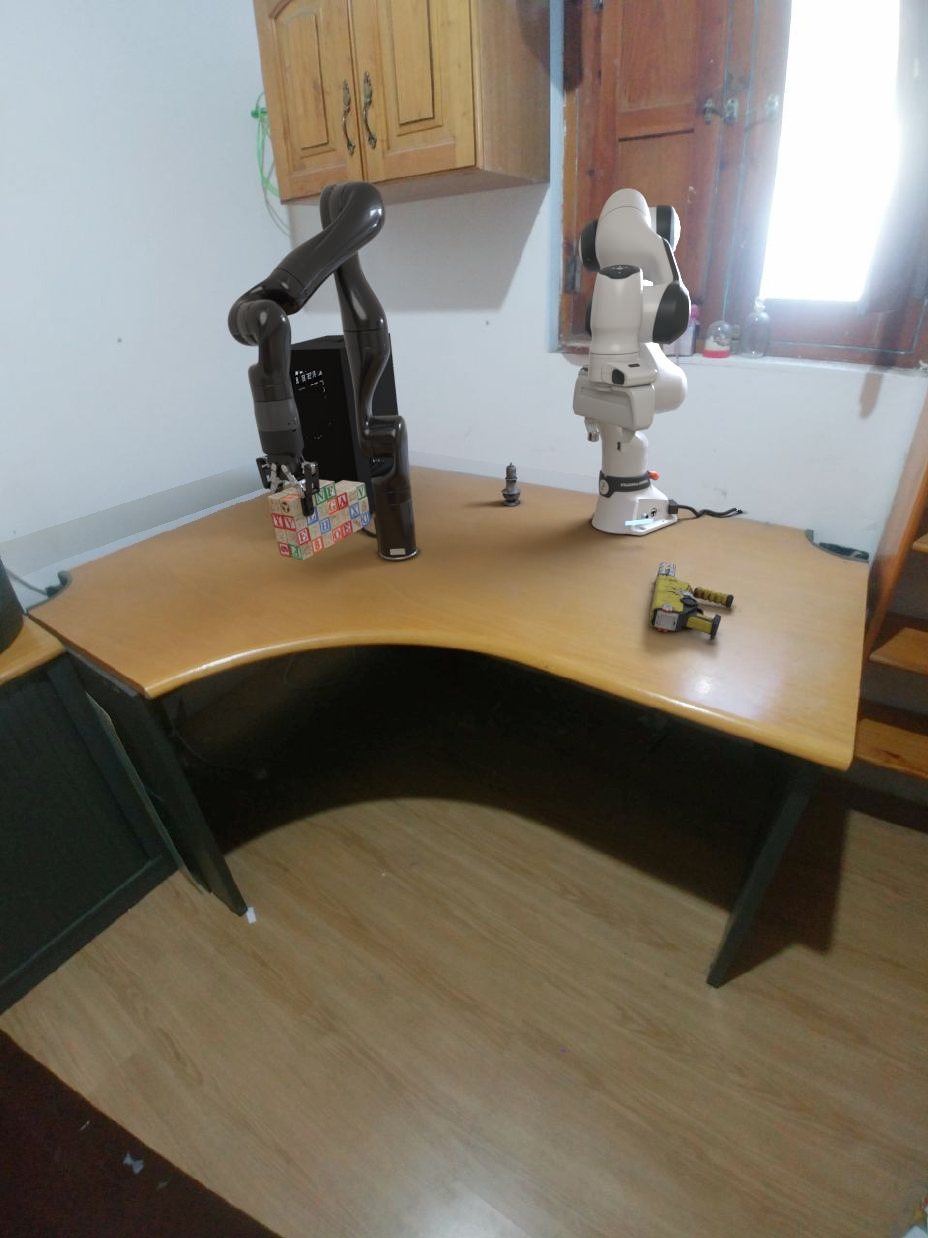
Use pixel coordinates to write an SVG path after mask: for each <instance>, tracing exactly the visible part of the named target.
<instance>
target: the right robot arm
mask: <svg viewBox="0 0 928 1238" xmlns="http://www.w3.org/2000/svg"><path fill="white" fill-rule="evenodd" d="M680 234H681V225H680V220H679V216H678V214H677V213H676V209H675V208H674V207H673V206H672V205H670V204H657V205H656V206H650V207H649V206H648V204H647V201H646V198H645V197H644V195H643V194H642V192H640V191H638V190H637V189H634V188H627V187H626V188H621V189H619V190H617V191H615V192H614V193H612V194H611V195H610V196H609V197H608V199H607V200H606V201H605V203H604V205H603V208H602V210H601V212H600V214H599V218H594V219H592V220H591V221H590V222H588V223H587V224H585V225H584V227H583V228H582V230H581V232H580V237H579V240H578V255H579V258H580V261H581V263H582V266H583V268H584V269H585V270H586V271H587V272H588V273H589V272H590V273H596V277H595V281H594V286H593V287H594V288H593V294H592V295H591V296H590V297H589V299H588V300H587V301H586V302H585V321H584V333H585V334H586V335H587V336H588V337H589V338H590V339H591V341H590V346H589V349H588V363H587V364H584V365H582V367H581V368H580V369H579V370H578V374H577V378H576V380H575V383H574V389H573V398H572V411H573V413H574V415H577V416H580V417H584V421H583V423H584V425H585V429H586V432H587V441H588V442H592V443H596V442H599V441H600V443H601V468H600V470H599V474H598V492H599V493H598V498H597V502H596V507H595V511H594V514H593V517H592V520H591V525H592V526H593V527H594V528H595V529H597V530H599V531H601V532H605V533H611V534H623V535H625V534H626V535H632V536H633V535H634V536H645V535H646V534H650V533H652V532H654V531H657V530H660V529H662V528H665V527H668V526H670V525H672V524H675V523H677V522H678V516H677V515H678V514H679V509H681V510H688V511H690V512H691V513H692V514H693V515H694V516H696V517H702V515H703V514H710V515H712V516H715V517H723V516H728V515H730V514H731V513H734V512H736V513H738V514H744V512H743V510H742V509H740V510H738V511H736V510H737V509H736V508H737V507H732V508H729V509H727V510H725V511H719V512H718V511H714V510H711V509H708V508H707V509H706V508H704V509H700V510H699V511H697V509H696V508H694V507H692V506H689V505H687V504H686V505H685V504H679V503H678V502H677V501H676V500H674V499H671V498H668V497H667V496H666V495H665V494H664V493H663V492H661V491H660V490H659V489H658V488H656V487H655V486H654V485H652V483H651V480H653V481H658V479H659V478H660V473H659V472H657V471H654V470H651V471H649V470H648V469H647V466H648V458H649V457H648V456H649V446H650V443H649V440H648V437H646V435H645V434H644V433H643V432H641V431H644V430H645V431H646V430H649V428H650V427H651V426H652V424H653V421H654V417H655V415H660V414H663V413H665V414H666V413H669V412H673V411H676V410H678V409H679V408H680V407H681V406H682V404H683V402H684V400H685V399H686V396H687V393H688V387H689V386H688V380H687V376H686V374H685V372H684V370H682V369H681V367H679V366H678V365H676V364H675V363H673V362H672V361H671V360H670V359H669V358H667V356H666V355H665V353H664V352H663V351H662V349H661V347H660V345H669V346H670V345H671V344H673V343H674V342H676V341H677V340H679V339H680V338H681V337H682V336H683V335H684V334H685V333H686V331H687V329H688V326H689V324H690V319H691V313H692V305H691V299H690V294H689V290H688V289H687V288H686V286H685V285H684V283H683V281H682V278H681V273H680V270H679V268H678V265H677V262H676V258H675V256H674V252H675V251H676V246H677V245H678V241H679V239H680Z"/></svg>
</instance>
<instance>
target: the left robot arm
mask: <svg viewBox="0 0 928 1238" xmlns="http://www.w3.org/2000/svg"><path fill="white" fill-rule="evenodd" d="M318 203H319V204H318V205H319V208H318V210H319V218H320V225H321V229H322V230H321V231H320V232H318V233H316V234H315V235H314V236H313V235H312V236H311V237H310V238H309V239H307V240H305V241H304V242H301V243H300V244H299V245H298V246H296V247H294V248H293V249H292V250H291V251H289V253H287V254H286V255H285V256H284V257H283V258H282V259H281V261H280V262H279V263H278V264H277V265H276V266H275V268H273V270H272V271H271V272H270V273H269V275H268V276H267V277H266V278H264V279H263V280H261V281H260V282H259V283H257V284H255V285H254V286H253V287H251V288H250V289H249V290H247V291H246V292H244V293H243V294H242V295H240V296H239V297H238V298H237V299H236V300H235V301H234V302H233V303H232V305H231V306H230V309H229V311H228V314H227V319H226V321H227V328H228V331H229V333H230V335H231V337H232V339H234V340H235V341H236V342H237V343H239V344H240V345H243V346H246V347H257V349H258V356H257V361H256V362H254V363H252V364H251V365H249V367H248V368H247V378H248V383H249V388H250V393H251V398H252V403H253V412H254V413H253V414H254V419H255V423H256V428H257V432H258V437H259V442H260V447H261V451H262V453H263V454H265V455H263V456H260V457H257V458H255V463H256V467H257V469H258V473H259V476H260V479H261V483H262V486H263V489H265V490H267V489H268V490H270V492H271V494H272V495H273V494H276V493H279V492H281V491H284V490H285V486H286V482H289V483H290V485H291V487H292V486H293V487H294V488H296V489H297V491H298V493H299V495H300V497H301V498H300V501H301V506H302V512H303V516H305V517H309V516H311V515H313V514H314V504H313V499H312V496H313V495H314V494H317V493H319V492H320V484H319V473H318V464H317V462H311V463H309V462H306V461H305V460H304V458H303V456H302V450H303V448H304V443H303V437H302V432H301V426H300V421H299V415H298V410H297V406H296V403H295V400H294V397H293V396H294V395H293V390H292V384H291V379H290V375H289V367H290V355H291V344H292V326H291V322H290V318H289V317H288V316H292V315H295V314H297V313H299V312H300V311H301V310H302V309H303V308H304V307H305V306H306V305H307V304H308V302H309V301H310V300H311V299H312V297H313V296H314V295H315V294H316V293H317V291H318V290H319V289H320V287H321V286H322V285H323V284H324V283H325V282H326V281H327V280H328V279H329V278H330V277H331V276H332V275H333V279H334V285H335V290H336V291H335V292H336V296H337V300H338V307H339V312H340V321H341V328H342V335H344V342H345V348H346V353H347V358H348V363H349V369H350V375H351V381H352V387H353V395H354V405H355V416H356V427H357V436H358V443H359V447H360V451H361V453H362V455H363V456H364V457H366V458H393V464H392V465H390V466H389V467H387V468H385V469H383V470H380V471H378V472H376V473H374V474H373V475H372V476H371V488H372V495H373V503H374V510H375V511H374V516H373V521H374V529H375V533H373V532H372V531H370V530H368V529H367V528H365V527H363V528H361V529H360V530H361V531H362V532H363V533H365V534H367V535H368V536H370V537H373V538H375V539H376V544H377V545H376V546H377V551H378V553H379V557H380V558H381V559H383V560H386V561H392V562H394V561H395V562H396V561H397V562H398V561H399V562H400V561H407V560H409V559H411V558H414V557H415V556H416V555H417V554H418V552H419V551H418V545H417V535H416V524H415V523H416V522H415V513H414V512H415V511H414V503H413V493H412V483H411V472H410V459H409V436H408V428H407V423H406V420H405V418H404V416H402V415H399V414H398V415H379V416H373V415H372V397H373V394H374V391H375V388H376V385H377V383H378V380H379V378H380V376H381V374H382V372H383V370H384V368H385V365H386V363H387V361H388V358H389V354H390V342H389V333H390V332H389V326H388V325H389V324H388V320H387V319H388V318H387V315H386V313H385V312H386V311H385V310H384V308H383V306H382V304H381V302H380V300H379V298H378V297H377V295H376V293H375V292H374V289H373V288H372V287H371V285H370V282H369V281H368V279H367V277H366V275H365V274H364V271H363V268H362V264H361V260H360V256H359V251H360V250H361V249H363V248H364V247H365V246H367V245H368V244H370V243H371V242H372V241H374V240H375V239H376V238H377V237H378V236H379V235H380V233H381V232H382V230H383V229H384V226H385V222H386V214H387V212H386V204H385V199H384V196H383V195H382V192H381V190H379V188H378V187H377V186H376V185H375V184H373V183H372V182H369V181H366V180H349V181H341V182H332V183H329V184H326V185H325V186H324V187H323V188H322V190H321V192H320V195H319V202H318ZM300 477H301V478H302V480H301V481H297V480H298V479H299V478H300ZM268 478H269V479H268ZM312 483H313V488H312ZM301 485H303V486H304V487H305V489H306V490H305V491H304V490H303V488H302V486H301Z"/></svg>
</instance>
